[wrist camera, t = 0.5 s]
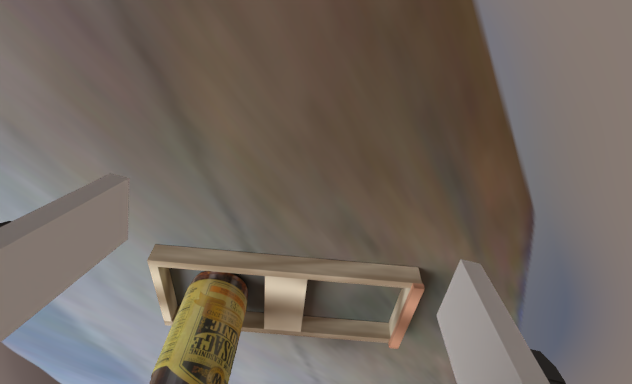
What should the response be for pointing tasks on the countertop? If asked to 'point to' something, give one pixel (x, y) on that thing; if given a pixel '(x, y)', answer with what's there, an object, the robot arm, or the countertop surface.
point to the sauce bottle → (204, 332)
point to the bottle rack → (293, 290)
